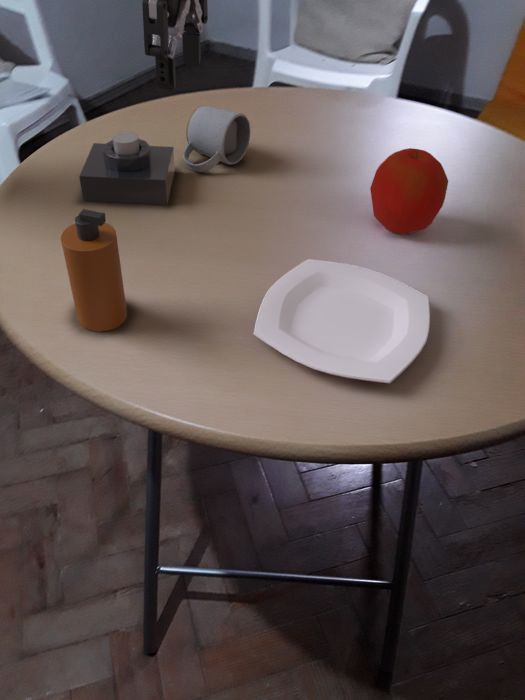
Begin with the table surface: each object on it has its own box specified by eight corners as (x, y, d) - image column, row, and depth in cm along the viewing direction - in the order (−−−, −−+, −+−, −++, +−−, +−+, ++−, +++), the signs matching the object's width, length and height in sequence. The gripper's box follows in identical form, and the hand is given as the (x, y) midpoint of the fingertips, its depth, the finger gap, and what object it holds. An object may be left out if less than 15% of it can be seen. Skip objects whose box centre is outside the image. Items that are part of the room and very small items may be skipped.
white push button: (112, 155, 88) (110, 142, 87) (116, 144, 91) (114, 130, 90) (137, 157, 89) (136, 143, 87) (141, 145, 91) (140, 131, 90)
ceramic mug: (210, 139, 105) (209, 94, 100) (251, 153, 102) (252, 107, 97) (171, 165, 99) (167, 118, 93) (213, 181, 96) (212, 133, 91)
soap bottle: (68, 325, 71) (45, 221, 62) (91, 295, 75) (72, 193, 66) (114, 336, 70) (97, 231, 61) (134, 305, 74) (122, 202, 65)
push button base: (83, 201, 90) (76, 162, 86) (97, 167, 97) (91, 130, 93) (167, 205, 90) (164, 166, 86) (174, 171, 97) (172, 134, 93)
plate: (231, 350, 69) (231, 337, 68) (298, 259, 82) (300, 247, 81) (398, 412, 64) (402, 399, 63) (442, 304, 77) (447, 292, 76)
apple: (442, 247, 86) (465, 170, 78) (368, 243, 86) (384, 165, 78) (429, 207, 93) (449, 133, 85) (361, 204, 93) (375, 129, 85)
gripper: (167, -92, 74) (173, 52, 85) (112, -68, 64) (128, 92, 75) (227, -84, 73) (226, 61, 84) (181, -58, 63) (186, 102, 74)
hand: (179, 75), depth 80 cm, fingers open, 8 cm apart
